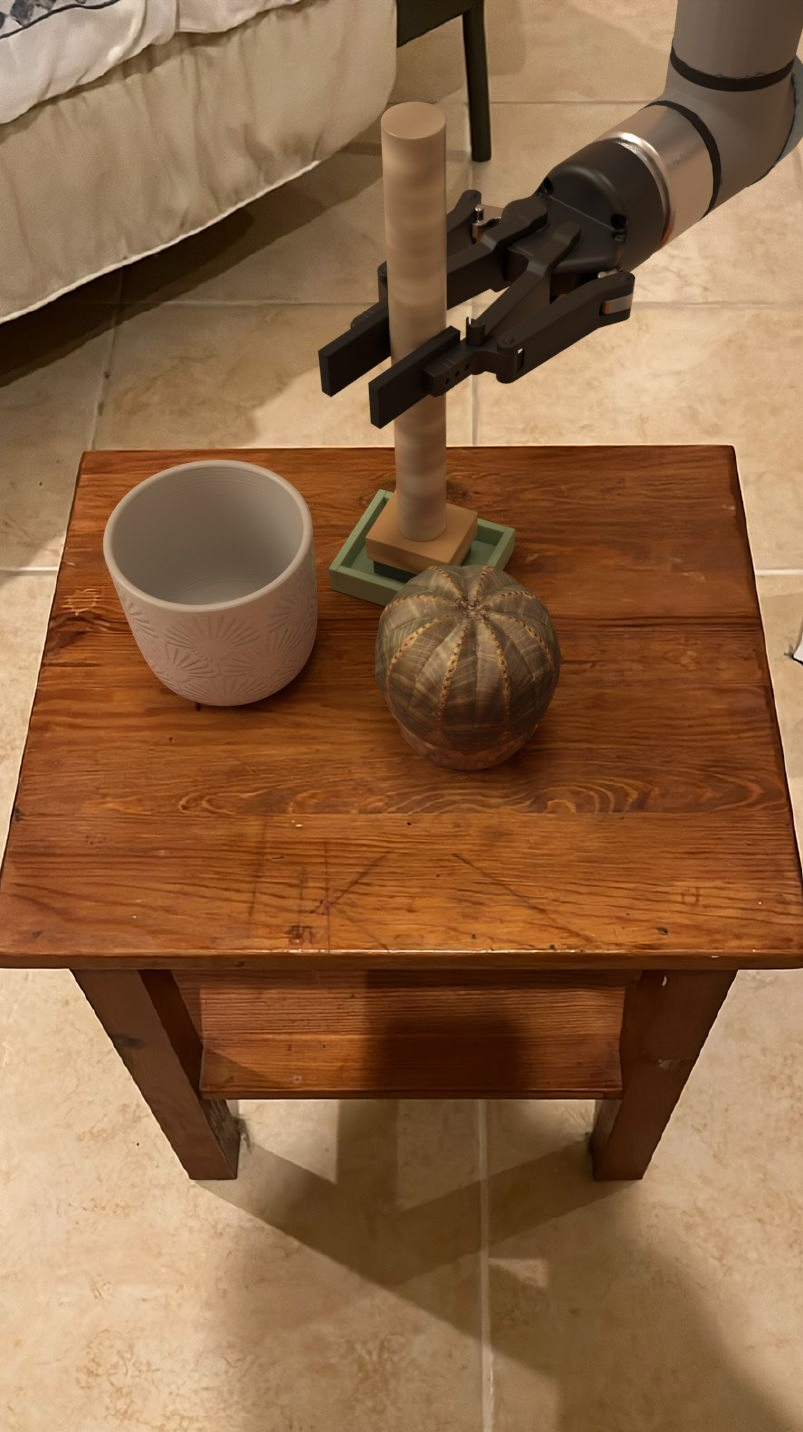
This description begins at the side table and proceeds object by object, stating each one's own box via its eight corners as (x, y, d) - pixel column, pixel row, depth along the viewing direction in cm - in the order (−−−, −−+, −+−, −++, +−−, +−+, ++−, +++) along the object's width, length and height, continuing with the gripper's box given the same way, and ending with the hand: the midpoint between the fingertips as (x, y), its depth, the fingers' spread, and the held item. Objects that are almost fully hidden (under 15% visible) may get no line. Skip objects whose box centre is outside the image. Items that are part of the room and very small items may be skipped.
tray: (514, 550, 89) (515, 528, 87) (468, 633, 85) (468, 613, 84) (380, 509, 91) (379, 488, 90) (330, 589, 88) (328, 568, 86)
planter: (336, 586, 88) (323, 461, 78) (315, 732, 81) (298, 615, 72) (158, 579, 89) (124, 454, 79) (123, 722, 82) (82, 605, 73)
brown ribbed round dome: (360, 784, 79) (347, 657, 69) (402, 650, 85) (396, 514, 74) (533, 816, 78) (547, 691, 67) (565, 677, 83) (582, 542, 73)
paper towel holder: (477, 550, 88) (490, 104, 63) (448, 600, 86) (450, 160, 60) (398, 525, 90) (379, 80, 64) (367, 574, 87) (335, 133, 62)
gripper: (716, 311, 79) (456, 512, 71) (518, 206, 85) (258, 381, 77) (740, 194, 73) (457, 401, 65) (524, 90, 79) (241, 267, 71)
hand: (349, 389), depth 71 cm, fingers closed on paper towel holder, 3 cm apart
